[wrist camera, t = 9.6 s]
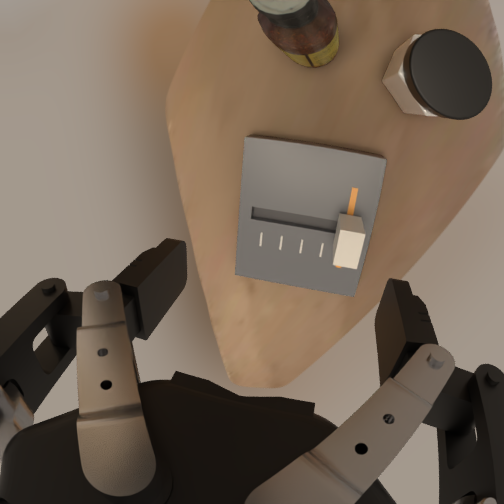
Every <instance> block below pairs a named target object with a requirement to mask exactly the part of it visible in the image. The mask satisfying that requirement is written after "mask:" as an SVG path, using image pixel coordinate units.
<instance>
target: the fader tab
mask: <svg viewBox="0 0 504 504" xmlns="http://www.w3.org/2000/svg"><path fill="white" fill-rule="evenodd" d="M365 235H366V234H365V230H364V226H363V222H362V218H361V217H357V216H352V215H347V214H341V213H339V218H338V223H337V228H336V233H335V238H334V243H333V265H336V266H341V267H347V268H352V269H357V266H358V263H359V259H360V255H361V251H362V247H363V243H364V239H365Z"/></svg>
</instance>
